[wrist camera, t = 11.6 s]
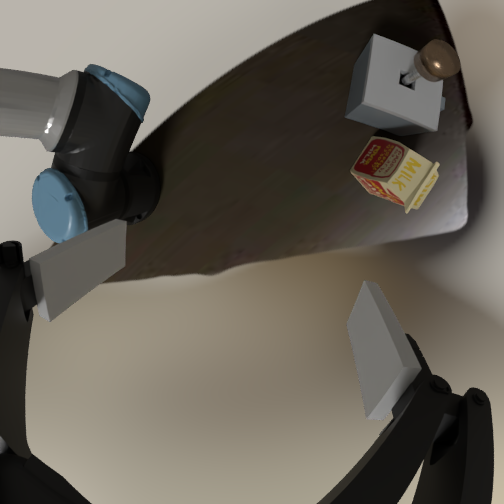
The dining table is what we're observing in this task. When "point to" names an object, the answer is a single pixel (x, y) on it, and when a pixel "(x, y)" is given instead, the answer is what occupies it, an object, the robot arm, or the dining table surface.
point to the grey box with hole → (392, 91)
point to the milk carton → (395, 172)
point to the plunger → (433, 63)
